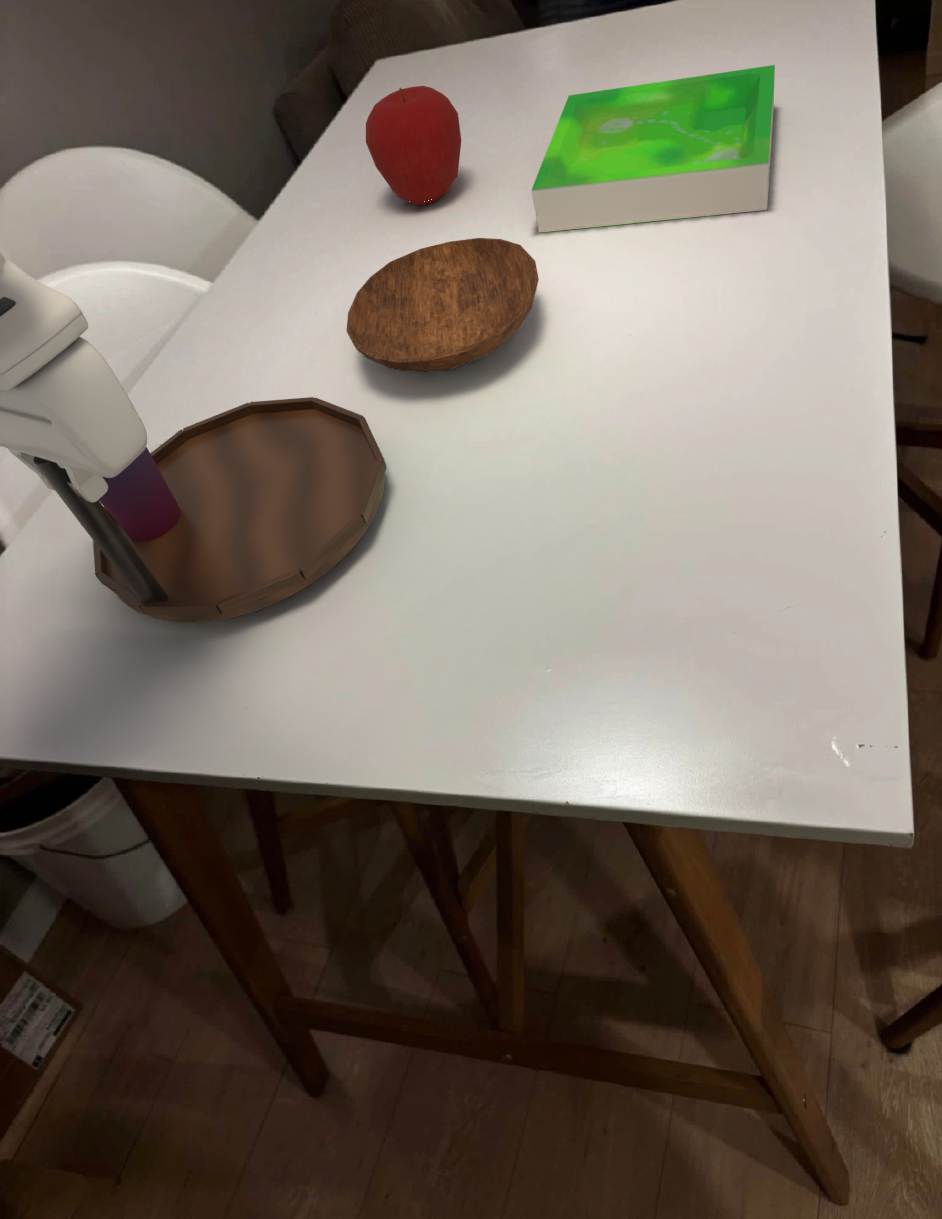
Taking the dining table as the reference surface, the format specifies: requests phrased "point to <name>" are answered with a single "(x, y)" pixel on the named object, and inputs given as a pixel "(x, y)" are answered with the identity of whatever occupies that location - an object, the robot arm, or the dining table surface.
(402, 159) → the apple
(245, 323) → the dining table surface
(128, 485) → the cup
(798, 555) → the dining table surface
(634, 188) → the green flat block
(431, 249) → the bowl
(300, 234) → the dining table surface
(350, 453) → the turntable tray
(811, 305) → the dining table surface
